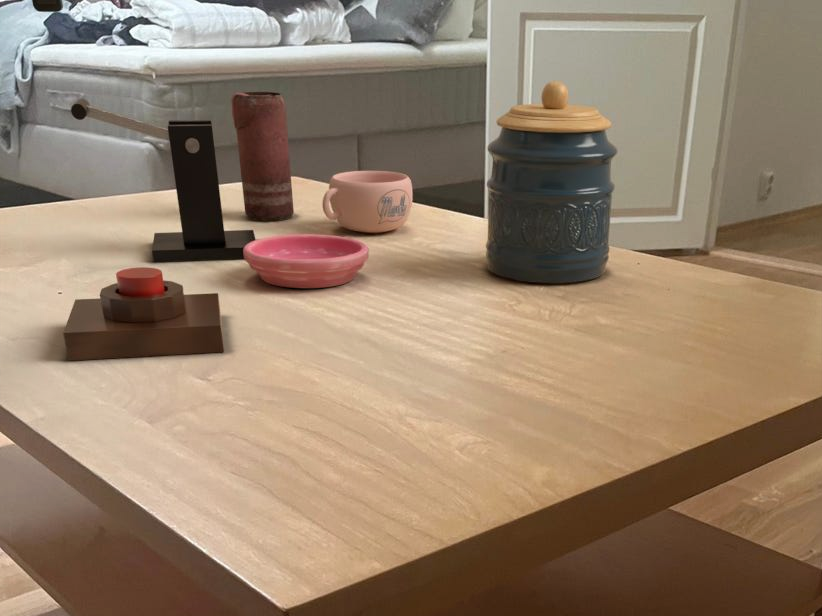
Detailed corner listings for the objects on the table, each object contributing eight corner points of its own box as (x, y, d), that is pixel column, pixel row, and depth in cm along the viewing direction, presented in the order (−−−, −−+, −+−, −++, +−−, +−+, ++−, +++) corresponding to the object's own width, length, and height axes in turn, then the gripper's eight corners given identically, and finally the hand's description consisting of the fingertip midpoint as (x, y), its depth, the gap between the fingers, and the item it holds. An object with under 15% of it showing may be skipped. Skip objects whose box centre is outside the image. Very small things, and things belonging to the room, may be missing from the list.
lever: (69, 122, 100) (72, 96, 99) (74, 116, 104) (76, 91, 103) (204, 161, 105) (208, 136, 103) (203, 154, 109) (207, 130, 108)
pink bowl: (323, 258, 110) (321, 227, 108) (394, 280, 102) (393, 247, 100) (223, 275, 102) (219, 243, 101) (290, 301, 95) (287, 266, 93)
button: (118, 301, 81) (114, 278, 80) (120, 289, 84) (117, 268, 83) (164, 299, 81) (161, 277, 80) (165, 287, 84) (162, 266, 83)
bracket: (153, 262, 107) (132, 128, 100) (156, 244, 114) (136, 118, 107) (258, 258, 109) (245, 127, 102) (254, 240, 116) (241, 117, 109)
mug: (380, 218, 128) (378, 167, 125) (429, 230, 122) (429, 178, 119) (301, 230, 122) (297, 177, 118) (349, 244, 115) (346, 188, 112)
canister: (576, 253, 114) (588, 75, 104) (629, 280, 103) (647, 86, 94) (468, 260, 110) (469, 76, 100) (511, 289, 99) (518, 88, 90)
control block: (68, 360, 79) (57, 309, 77) (80, 325, 87) (70, 277, 85) (224, 352, 82) (217, 302, 79) (221, 318, 90) (215, 271, 88)
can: (237, 214, 129) (224, 91, 121) (285, 210, 131) (275, 89, 124) (251, 223, 124) (238, 96, 117) (300, 219, 127) (290, 94, 119)
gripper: (-40, -250, 79) (12, 9, 89) (-76, -285, 68) (-12, 13, 78) (61, -244, 81) (102, 10, 90) (41, -277, 70) (89, 14, 79)
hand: (49, 11), depth 84 cm, fingers closed
